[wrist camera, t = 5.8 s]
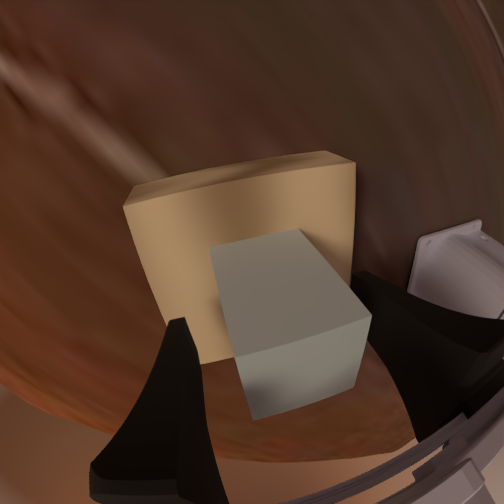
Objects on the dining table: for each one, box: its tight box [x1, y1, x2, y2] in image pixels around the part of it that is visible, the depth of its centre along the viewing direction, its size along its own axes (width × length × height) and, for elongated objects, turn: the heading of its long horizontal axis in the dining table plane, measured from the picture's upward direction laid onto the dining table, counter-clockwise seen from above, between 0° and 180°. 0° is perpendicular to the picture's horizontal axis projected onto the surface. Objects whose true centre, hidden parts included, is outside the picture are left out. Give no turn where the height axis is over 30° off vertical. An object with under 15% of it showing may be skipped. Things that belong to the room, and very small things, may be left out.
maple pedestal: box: [123, 151, 356, 364], centre depth 15 cm, size 10×10×3 cm
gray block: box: [209, 228, 372, 420], centre depth 11 cm, size 4×4×6 cm
